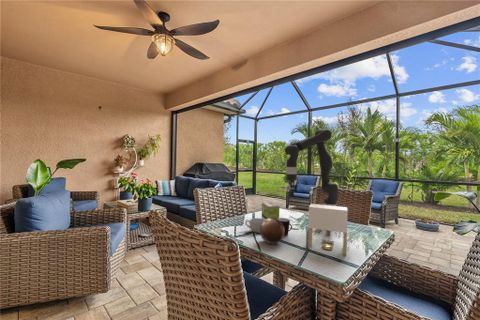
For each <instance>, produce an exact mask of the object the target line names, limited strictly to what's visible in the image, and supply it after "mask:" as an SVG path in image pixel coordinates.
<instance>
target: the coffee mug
mask: <svg viewBox="0 0 480 320" xmlns="http://www.w3.org/2000/svg"><path fill="white" fill-rule="evenodd" d="M278 220H279V221H280V222H281V223H282V224H283V226H284V230H285V233H284V237H287V236H289V232H290V231H292V229H293V226H292V224H291V219H290V218H287V217H286V218H285V217H279V218H278Z"/></svg>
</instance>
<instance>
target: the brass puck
mask: <svg viewBox="0 0 480 320" xmlns="http://www.w3.org/2000/svg"><path fill="white" fill-rule="evenodd" d="M333 246H334V245H331V244H325V243H321V249H323V250H326V251H333Z"/></svg>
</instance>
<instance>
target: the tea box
mask: <svg viewBox="0 0 480 320" xmlns="http://www.w3.org/2000/svg"><path fill="white" fill-rule="evenodd" d="M268 218H276V219H278V218H280V205H278V204H276V203H275V202H273V201H270V202H267V201H266V202H265V201H264V202H261V219H264V220H266V219H268Z"/></svg>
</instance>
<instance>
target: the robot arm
mask: <svg viewBox="0 0 480 320" xmlns="http://www.w3.org/2000/svg"><path fill="white" fill-rule="evenodd" d="M332 135H333V134H332V132H331V130H330V129H329V128H328V129H327V128H323V129H322V128H321V129H316V131H315V132H314V135H313V136H309V137H307V138H303V139H301V140H299V141H297V142H294V143H291V144H288V145H286V146H285V147H284V154H286V155H287V156H289V158H288V159H286V170H285V171H286V172H285V179H286V180H287V181H288V195H289V197H290V198H294V196H295V193H294V192H295V189H296V187H295V186H296V185H295V182H294V181H297V180H298V167H297V164H298V163H297V162H298V157H299V154H300V152H301V151H304V150H306V149H309V148H310V147H312V146H316V148H317V154H318V161H319V169H320V176H321V191H322V193H324V194H325V195H328V197H327V198H324V199H323V205H329V206H337V203H338V198H339V186H338V184H337V183H335V182H331V181H330V173H331V171H332V170H333V158H332V155H331V154H330V152H329V151H328V150H327V149H328V148H326V145H325V142H329V140H331V138H332Z"/></svg>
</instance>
